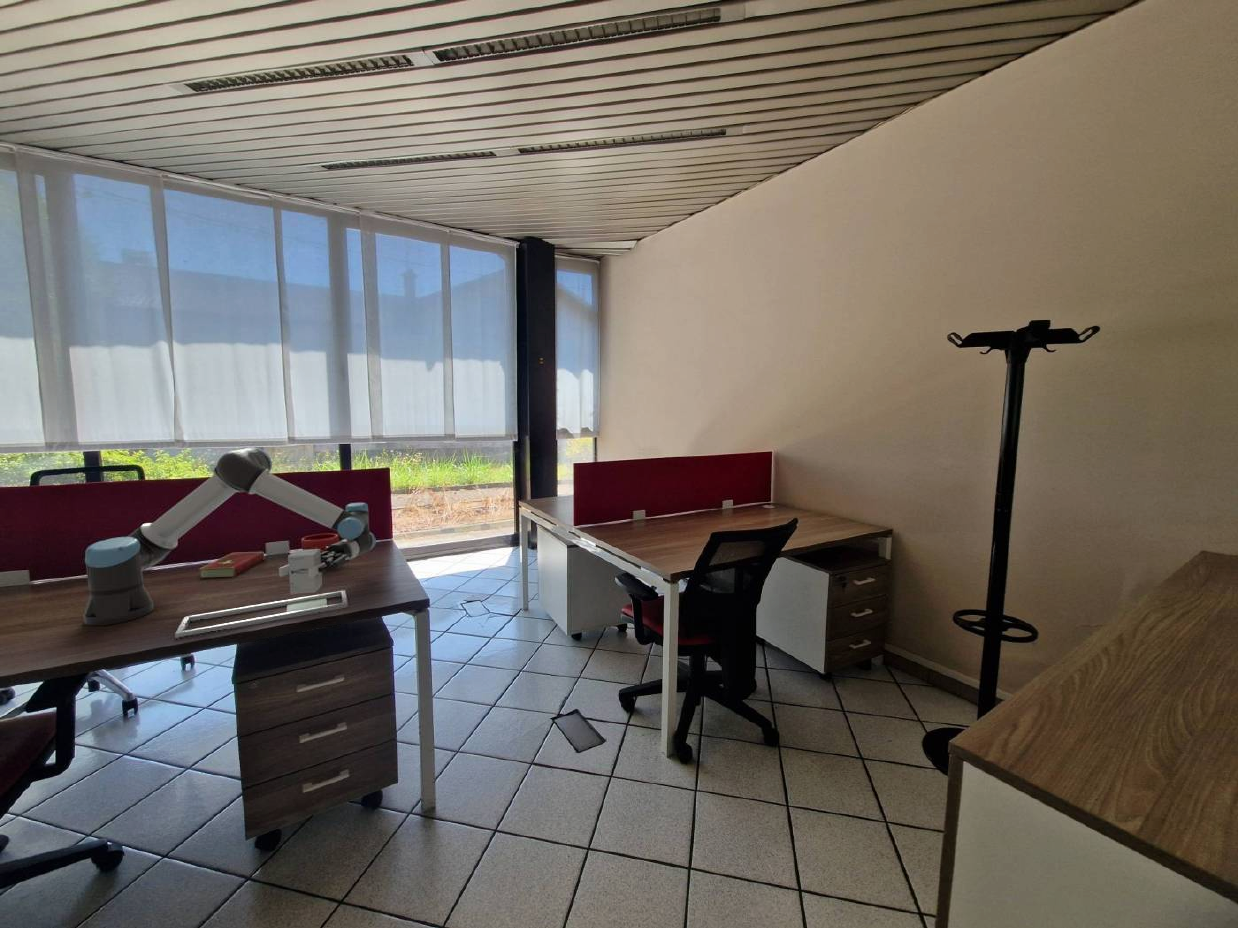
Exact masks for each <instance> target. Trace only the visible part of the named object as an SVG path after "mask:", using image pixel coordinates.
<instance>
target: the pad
mask: <svg viewBox="0 0 1238 928" xmlns="http://www.w3.org/2000/svg"><path fill="white" fill-rule="evenodd" d="M327 601H328V600H327V599H326V598H323V599H317V600H311V601H305V602H299V603H294V604H288V605H286V612H285V613H288V612H293V611H299V610H305V609H310V608H316V607H322V606H327V605H328V603H327Z"/></svg>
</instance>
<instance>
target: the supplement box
mask: <svg viewBox="0 0 1238 928" xmlns="http://www.w3.org/2000/svg"><path fill="white" fill-rule="evenodd" d="M287 561H288V562H287V563H288V564H289V574H288V577H289V578H288V579H289V580H288V581H289V593H290V595H296V594H309V593H310V594H311V593H313V594H314V593H316V592H317V591H318V590H319V589H320V588H321V587H322V586H323V574H322V573H323V572H322V573H320V574H318V575H316V576H314V577H312V578H309V575H308V569H310V568H312V567H315V566H317V565H319V564H321V549H309V550H302V549H296V550H294V551H292V553H290V554H289V555H288V556H287ZM288 564H287V565H288Z"/></svg>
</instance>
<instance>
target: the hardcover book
mask: <svg viewBox="0 0 1238 928" xmlns="http://www.w3.org/2000/svg"><path fill="white" fill-rule="evenodd" d="M262 560H263V561H264V560H265V553H264V552H263V551H248V552H245V551H244V552H242V551H241V552H231V553H229V554H227V555H225V556H223V557H220V558H219V559H217V560H214V561H213V562H210V563H209V564H206V565H204V566H202V567H200V568H198V571H200V578H201V579H204V578H222V577H228V578H229V577H232V578H233V577H236V576H238V575H239V574H241V573H243V572H245V571H247V570H248V568H249V569H250V568H252V567H254V566H256V565H257V564H259V563H261V562H263V561H262Z"/></svg>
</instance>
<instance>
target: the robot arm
mask: <svg viewBox="0 0 1238 928" xmlns="http://www.w3.org/2000/svg"><path fill="white" fill-rule="evenodd" d="M216 463H217V464H216V466H215V467H214V468H213V475H212V476H210V477H209V478H208V479H206V480H205V481H204V482H203V483H201V484H200V485H199V486H198V487H197V488H195V489H194V490H193V491H191V492H190V493H189V494H187V496H185V497H184V498H183V499H182V500H180V501H179V502H177V503H176V504H175V505H174V506H173V507H171V508H170V509H169V510H168V511H166V512H165V513H163V515H161V516H160V517H159V518H158V519H156V520H155V521H153V522H146V523H143V524H142V525H140V526H139V527H138V528H137V529H135V530H134V531H133V532H132V533H130V534H129V535H128V536H120V537H111V538H108V539H107V538H106V539H105V540H100V541H97V542H94V543H92V544H90V545H89V546H87V548H86V549H85V558H84V563H85V566H86V577H87V585H88V591H89V598H88V601H87V604H86V608H85V611H84V614H83V623H84V625H87V626H93V627H97V626H98V627H99V626H100V627H101V626H108V625H116V624H120V623H125V622H128V621H132V620H136V619H139V618H141V617H144V616H146V615H148V614H150V613H151V612H153V611H154V602H153V599H152V598H151V597H150V595H149V593H148V592H147V589H146V588H145V586H144V577H143V571H145V570H147V569H149V568H150V567H151V568H152V567H153V566H155V565H157V564H159V563H161V562H162V561H164V560H165V559H166V557H167V556H168V555H169V553H171V552H172V551H173V550H174V549H176V547H178V543H179V541H178V540H179V539H180V538H181V537H183V535H185V534H186V533H188V531H190V530H191V529H192V528H193V527H195V526H196V525H198V523H200V522H201V521H202V520H203V519H205V518H206V517H207V516H209V515H210V514H211V513H212V512H213V511H215V510H216V509H217V508H218V507H220V506H221V505H222V504H223V503H224V502H226V501H227V500H228V499H229V498H231V497H232V496H233V495H234V494H236V493H246V494H248V495H254V494H255V495H256V494H257V496H260V497H263V498H264V499H267V500H268V501H272V502H273V503H274V504H277V505H279V506H282V507H283V508H286V509H288V510H290V511H292V512H294V513H297V514H298V515H300V516H302V517H305V518H307V519H309V520H312V521H314V522H316V523H318V524H320V525H322V526H325V528H326V527H327V528H329V529H331V530H332V531H334V532H337V535H338V536H339V537H341V539H342V540H339V542H338V543H335V544H333V545H330V546H329V547H328V546H327V547H326V548H327V550H326V551H325V552H322V553H321V564H319V565H317V566H315V567H312V568H310V569H308V575H309V578H312V577H314V576H316V575H318V574H320V573H324V572H326V571H327V572H328V571H331V570H332V571H336V570H339V568H340V567H343V565H345V564H346V563H349V562H350V560H352V559H354V558H356V557H359V556H360V555H363V554H365V553H367V552H369V551H371V550H372V549H374V547H375V546H376V542H377V539H376V537H375V535H374V534H373V533H372V532H371V531H370V519H369V517H370V516H369V506H368V504H367V503H365V502H351V503H348V504H346V506H345V509H343V508H341V507H339V506H337V505H335V504H334V503H331V502H329V501H327V500H325V499H323V498H321V497H319V496H317V495H315V494H313V493H310V492H309V491H307V490H305V489H303V488H301V487H298V486H297V485H294V484H292V483H290V482H288V481H286V480H284V479H282V478H280V477H278V476H276V475H275V474H272V473H271V471H272V467H273V464H272V459H271V457H270V455H269V454H268V453H267V452H266V451H264V450H262V449H260V448H258V447H251V446H249V447H243V448H240V449H236V450H231V451H227V452H226V453H225V454H223V455H222V456H221V457H220V458H219V459H218V461H217V462H216ZM325 564H326V565H325ZM278 575H279V577H282V578H283V577H284V576H286V575H289V564H286V565H284V566H281V567H279V568H278Z"/></svg>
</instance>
